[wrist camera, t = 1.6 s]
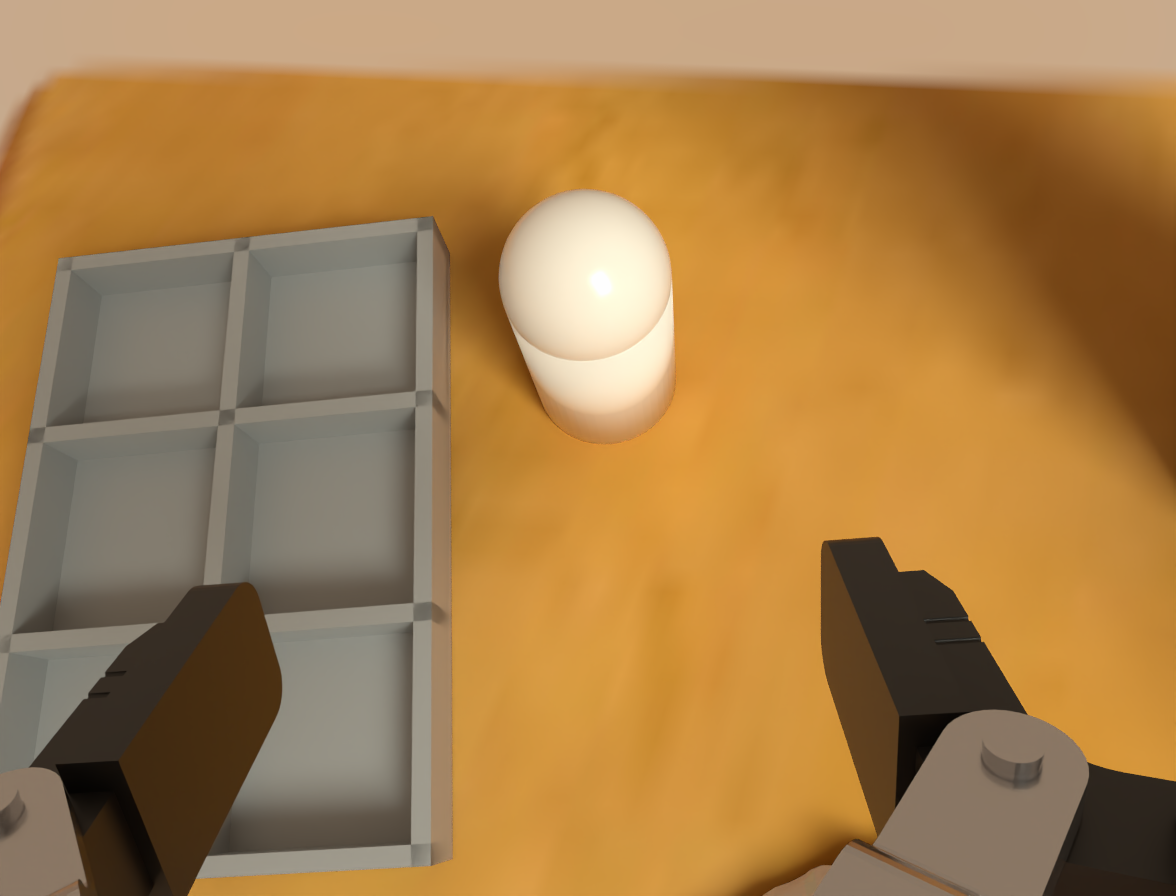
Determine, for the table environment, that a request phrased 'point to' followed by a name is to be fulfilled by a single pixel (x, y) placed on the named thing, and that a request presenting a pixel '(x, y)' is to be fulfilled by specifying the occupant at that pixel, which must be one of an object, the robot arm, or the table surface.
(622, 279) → the cream rounded cylinder
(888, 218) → the table surface
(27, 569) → the grey compartment tray
